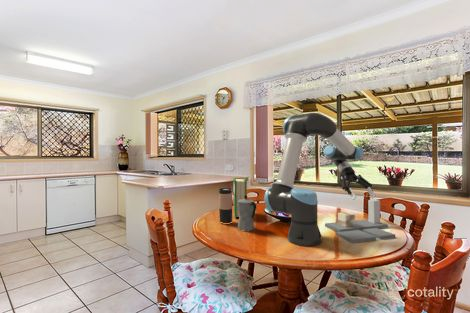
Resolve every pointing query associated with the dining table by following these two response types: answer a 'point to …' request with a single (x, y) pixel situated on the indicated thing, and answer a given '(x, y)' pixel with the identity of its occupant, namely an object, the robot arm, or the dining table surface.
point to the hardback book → (239, 192)
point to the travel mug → (225, 205)
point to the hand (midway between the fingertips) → (364, 197)
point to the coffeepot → (246, 214)
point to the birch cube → (346, 219)
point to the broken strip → (364, 235)
